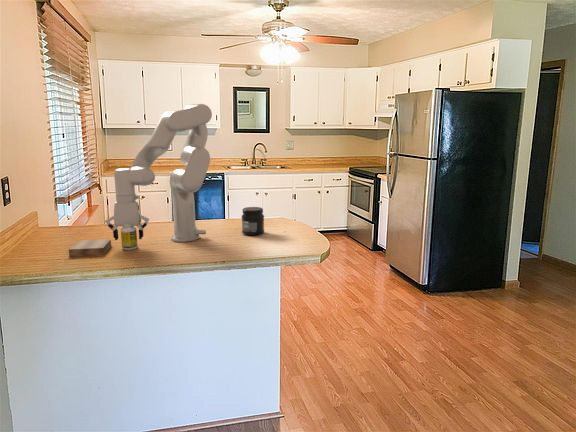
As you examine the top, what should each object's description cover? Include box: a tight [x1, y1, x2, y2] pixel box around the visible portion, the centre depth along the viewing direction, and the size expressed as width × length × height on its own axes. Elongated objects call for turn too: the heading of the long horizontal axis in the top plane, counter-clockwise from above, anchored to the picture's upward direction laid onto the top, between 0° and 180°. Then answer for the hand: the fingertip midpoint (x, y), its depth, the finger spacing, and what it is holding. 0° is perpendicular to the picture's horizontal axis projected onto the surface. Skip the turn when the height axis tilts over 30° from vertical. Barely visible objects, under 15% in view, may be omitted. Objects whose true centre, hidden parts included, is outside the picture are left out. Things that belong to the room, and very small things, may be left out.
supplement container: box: [241, 206, 265, 237], centre depth 212 cm, size 10×10×12 cm
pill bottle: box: [120, 224, 138, 251], centre depth 189 cm, size 6×6×11 cm
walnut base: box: [68, 239, 112, 258], centre depth 185 cm, size 13×13×3 cm
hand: (128, 239), depth 189 cm, fingers open, 9 cm apart
